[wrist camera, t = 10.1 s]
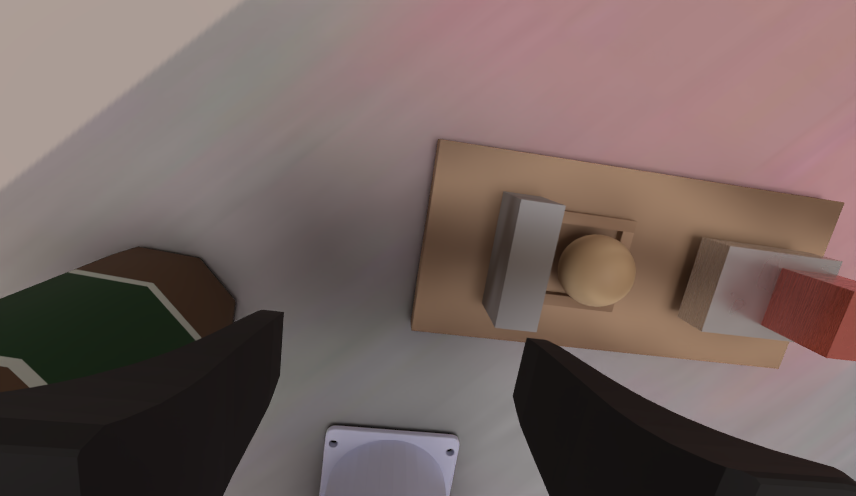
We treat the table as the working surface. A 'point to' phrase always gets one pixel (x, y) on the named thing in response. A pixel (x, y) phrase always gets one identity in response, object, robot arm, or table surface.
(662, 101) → the table surface
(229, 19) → the table surface
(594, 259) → the walnut
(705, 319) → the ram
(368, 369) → the table surface
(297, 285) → the table surface
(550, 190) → the wooden puzzle board
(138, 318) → the beer bottle
